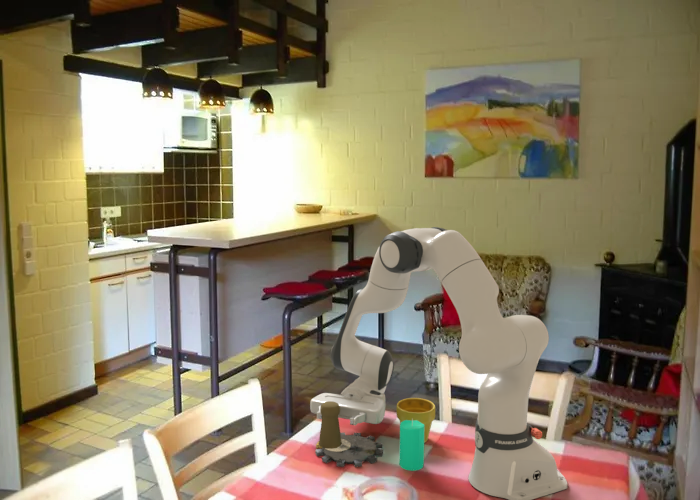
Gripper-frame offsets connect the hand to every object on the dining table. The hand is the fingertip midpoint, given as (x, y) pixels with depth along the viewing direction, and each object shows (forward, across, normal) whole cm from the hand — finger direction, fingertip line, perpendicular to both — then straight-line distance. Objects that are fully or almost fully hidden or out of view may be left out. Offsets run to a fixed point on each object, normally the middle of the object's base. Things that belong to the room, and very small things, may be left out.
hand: (335, 419), depth 155 cm
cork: (-1, -2, +8) cm, 8 cm away
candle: (-1, +20, +9) cm, 22 cm away
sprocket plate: (-1, +3, +8) cm, 9 cm away
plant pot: (-15, +17, +9) cm, 24 cm away
